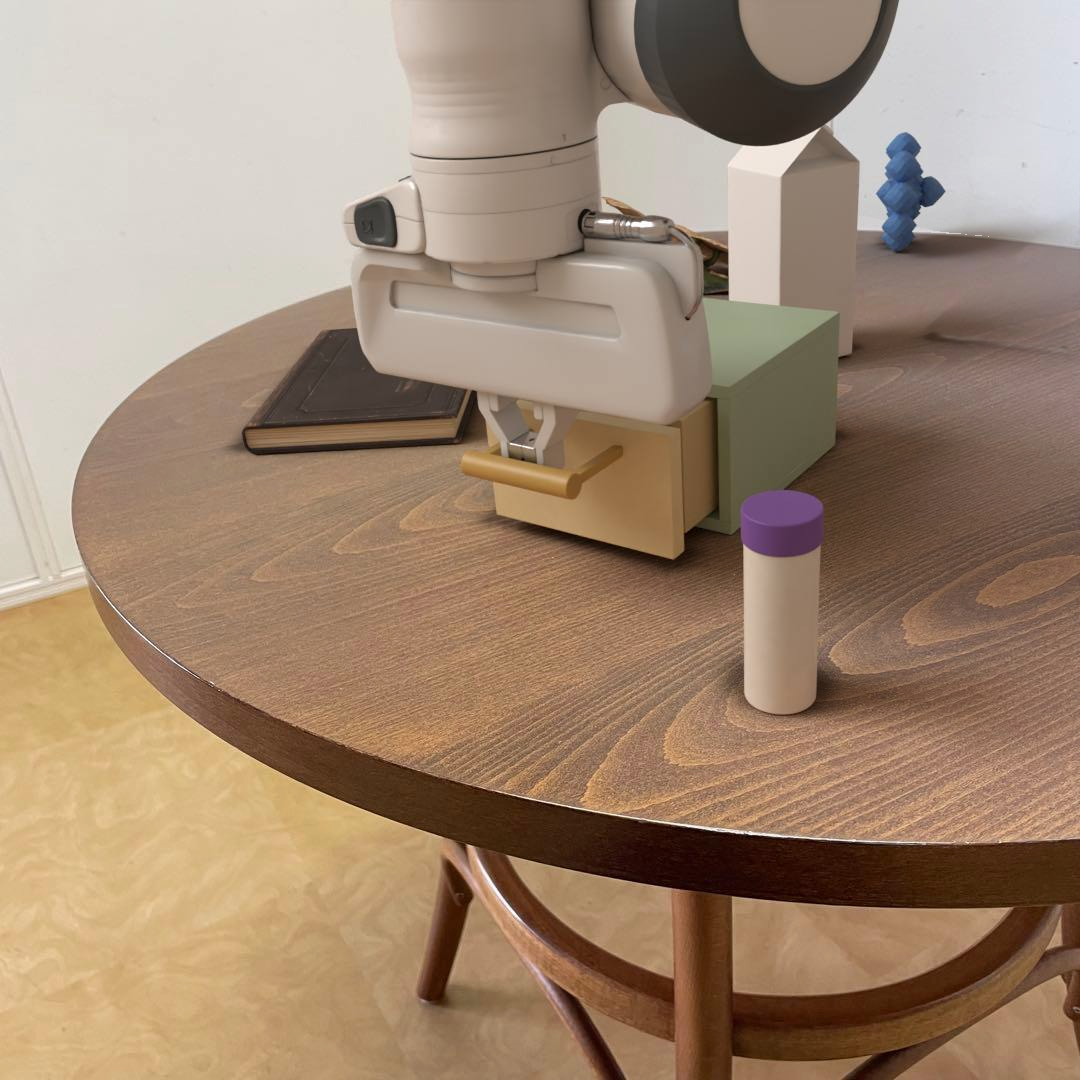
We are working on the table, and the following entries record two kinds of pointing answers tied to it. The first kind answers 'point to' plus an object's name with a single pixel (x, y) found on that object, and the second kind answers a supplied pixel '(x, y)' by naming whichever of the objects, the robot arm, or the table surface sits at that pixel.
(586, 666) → the table surface
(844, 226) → the milk carton
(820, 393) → the cabinet
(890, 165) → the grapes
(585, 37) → the robot arm
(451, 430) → the hardcover book
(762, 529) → the glue stick
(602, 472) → the drawer
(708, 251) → the green animal figurine
